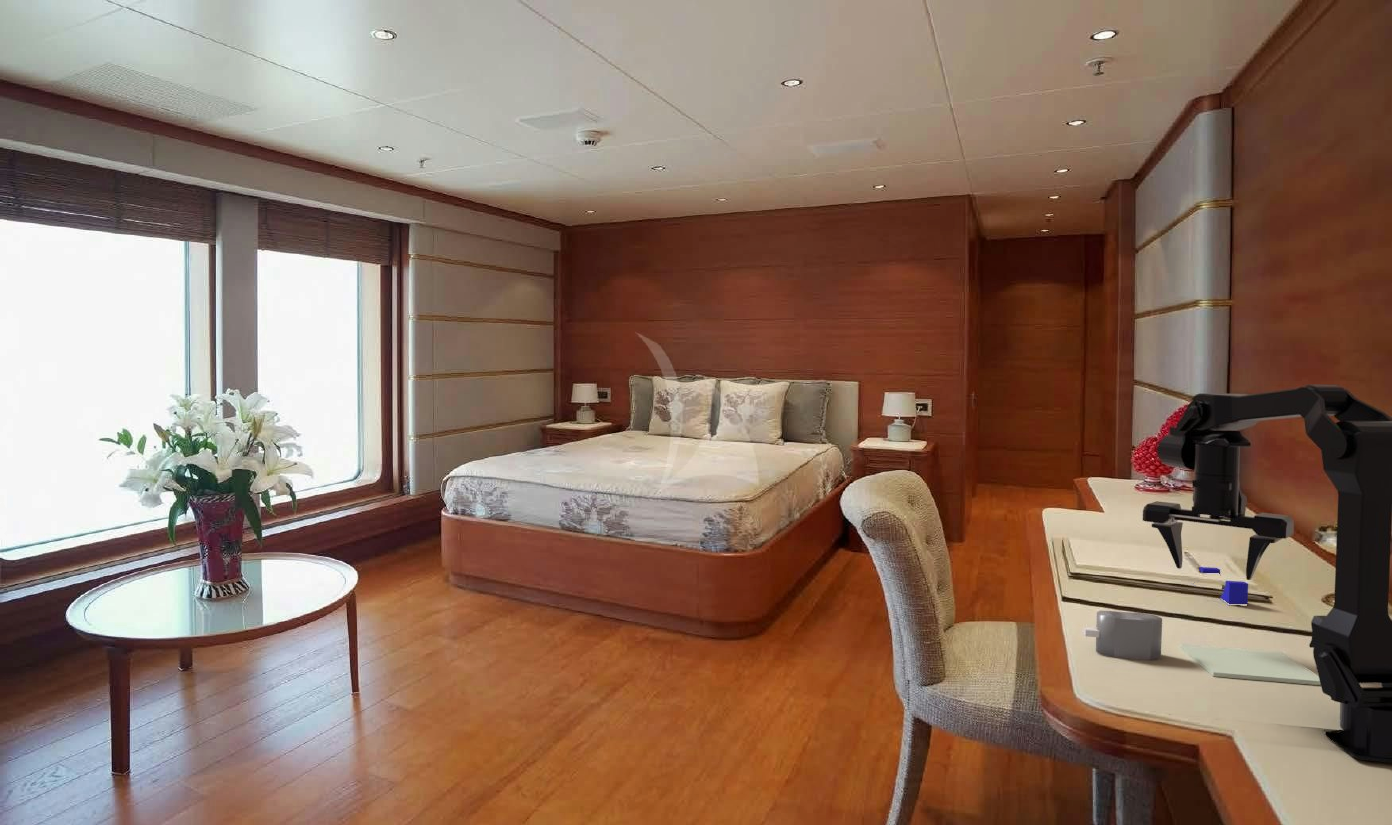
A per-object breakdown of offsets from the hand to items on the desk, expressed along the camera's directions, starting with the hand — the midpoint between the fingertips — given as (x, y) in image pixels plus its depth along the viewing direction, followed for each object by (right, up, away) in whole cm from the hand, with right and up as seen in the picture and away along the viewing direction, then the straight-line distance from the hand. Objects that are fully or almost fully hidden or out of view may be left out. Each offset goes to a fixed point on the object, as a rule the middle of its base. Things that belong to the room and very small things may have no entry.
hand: (1213, 573), depth 117 cm
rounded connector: (-14, -12, -1) cm, 18 cm away
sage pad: (+2, -13, -5) cm, 14 cm away
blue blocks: (+19, -12, +26) cm, 34 cm away
